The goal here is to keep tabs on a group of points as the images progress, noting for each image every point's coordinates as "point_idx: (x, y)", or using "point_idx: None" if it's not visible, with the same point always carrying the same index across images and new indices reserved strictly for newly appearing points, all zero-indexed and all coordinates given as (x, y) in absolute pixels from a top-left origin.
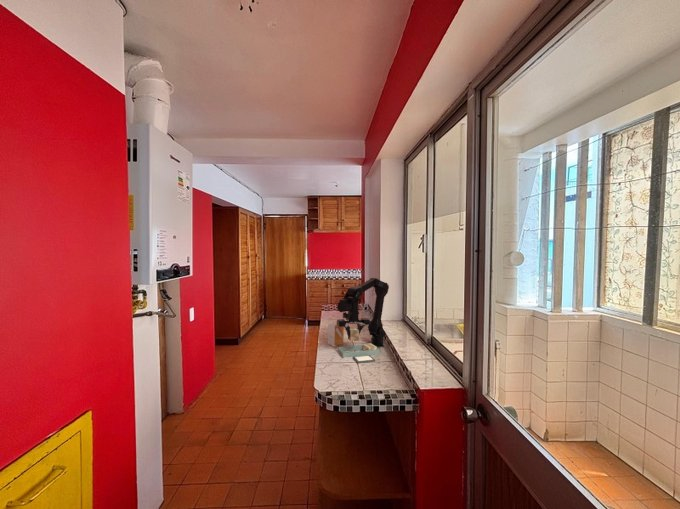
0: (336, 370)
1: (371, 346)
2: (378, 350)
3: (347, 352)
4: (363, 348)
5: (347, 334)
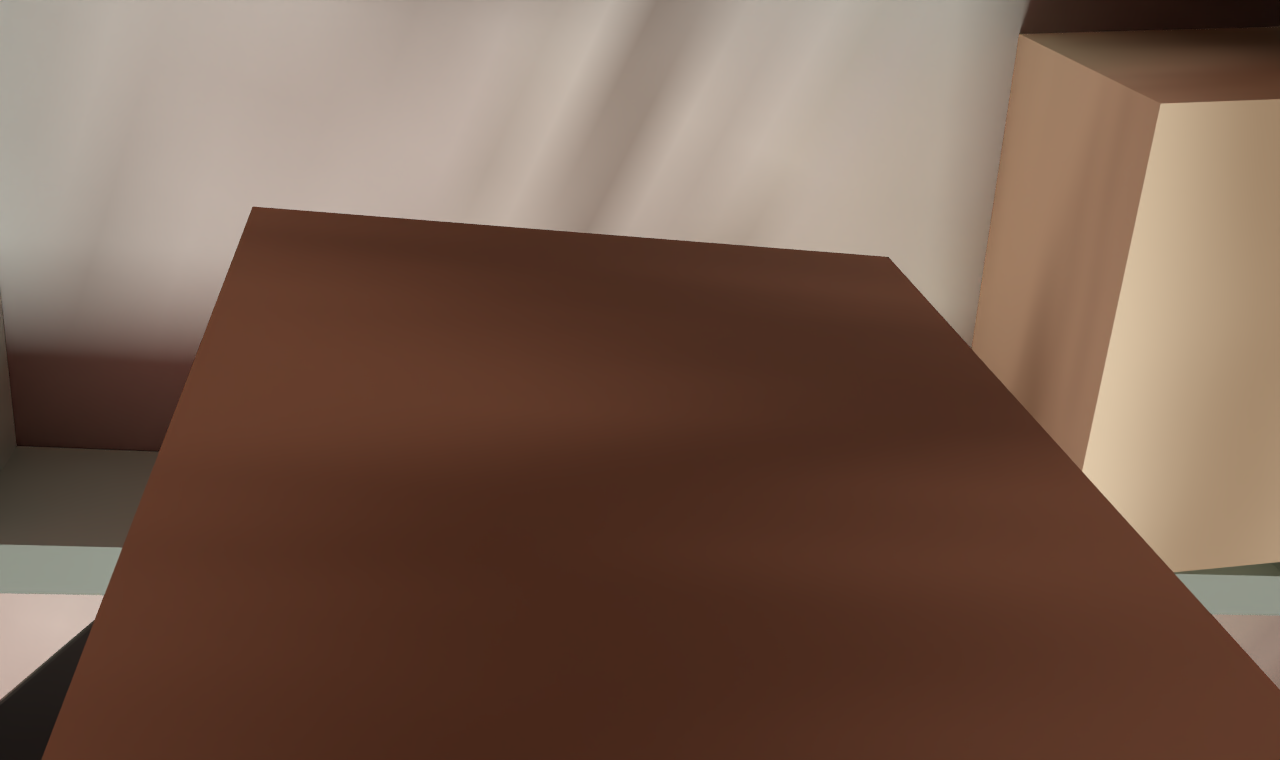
0: None
1: (1237, 489)
2: (1269, 604)
3: (114, 565)
4: (1058, 101)
5: (35, 677)
